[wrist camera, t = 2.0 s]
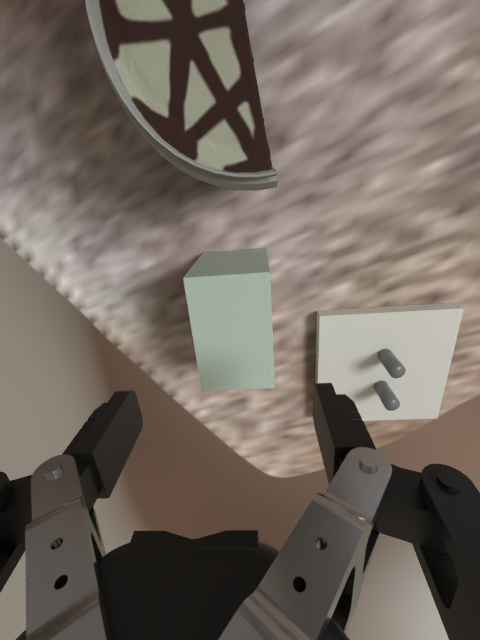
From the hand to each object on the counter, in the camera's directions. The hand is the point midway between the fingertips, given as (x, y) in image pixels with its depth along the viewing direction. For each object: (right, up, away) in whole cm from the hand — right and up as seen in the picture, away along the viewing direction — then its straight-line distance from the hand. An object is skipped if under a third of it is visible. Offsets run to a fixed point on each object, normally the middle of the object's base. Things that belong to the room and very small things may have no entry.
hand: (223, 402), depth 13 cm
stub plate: (+13, 0, +14) cm, 19 cm away
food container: (-1, +18, +6) cm, 19 cm away
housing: (+1, +6, +12) cm, 13 cm away
